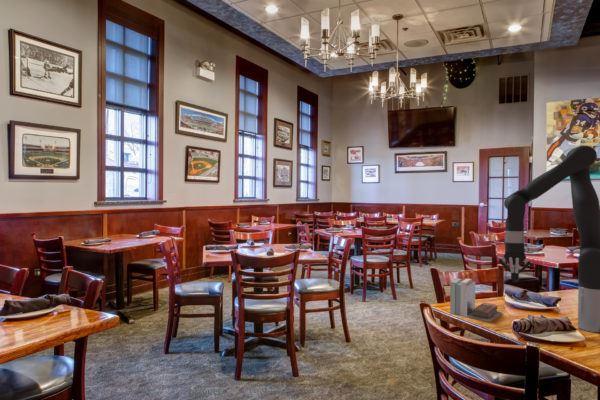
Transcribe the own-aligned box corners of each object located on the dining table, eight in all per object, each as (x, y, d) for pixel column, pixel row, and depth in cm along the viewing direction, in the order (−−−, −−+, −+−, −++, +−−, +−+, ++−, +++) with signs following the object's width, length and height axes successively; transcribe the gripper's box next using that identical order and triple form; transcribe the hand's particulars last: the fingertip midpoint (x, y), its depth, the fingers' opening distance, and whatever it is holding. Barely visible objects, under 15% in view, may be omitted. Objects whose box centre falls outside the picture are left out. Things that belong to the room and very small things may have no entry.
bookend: (475, 311, 195) (475, 281, 195) (467, 318, 184) (467, 286, 184) (458, 308, 200) (458, 279, 200) (449, 315, 189) (450, 284, 188)
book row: (471, 310, 194) (471, 279, 194) (465, 315, 186) (465, 282, 186) (456, 308, 198) (456, 277, 198) (450, 313, 190) (450, 280, 190)
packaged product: (479, 300, 198) (501, 304, 191) (479, 310, 198) (501, 314, 191) (466, 308, 184) (490, 312, 177) (466, 319, 184) (490, 323, 177)
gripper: (533, 241, 177) (533, 281, 177) (499, 239, 185) (499, 278, 185) (530, 243, 171) (531, 284, 171) (496, 241, 179) (496, 281, 179)
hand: (514, 281), depth 178 cm, fingers closed
